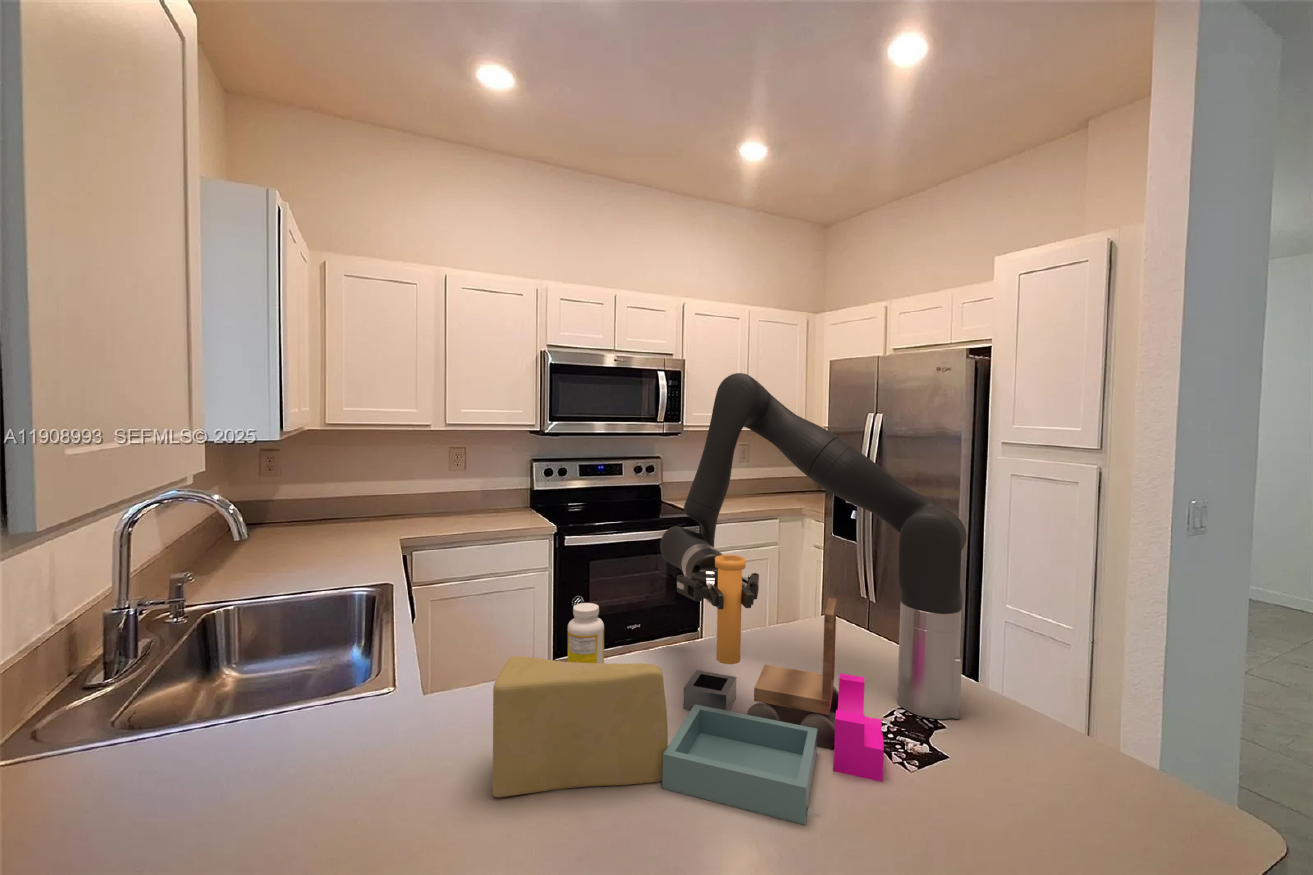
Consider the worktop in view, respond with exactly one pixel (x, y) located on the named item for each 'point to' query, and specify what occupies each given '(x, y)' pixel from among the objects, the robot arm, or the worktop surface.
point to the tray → (743, 762)
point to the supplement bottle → (586, 635)
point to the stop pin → (729, 608)
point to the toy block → (857, 733)
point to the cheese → (576, 725)
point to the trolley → (803, 688)
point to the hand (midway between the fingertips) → (735, 601)
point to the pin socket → (710, 691)
